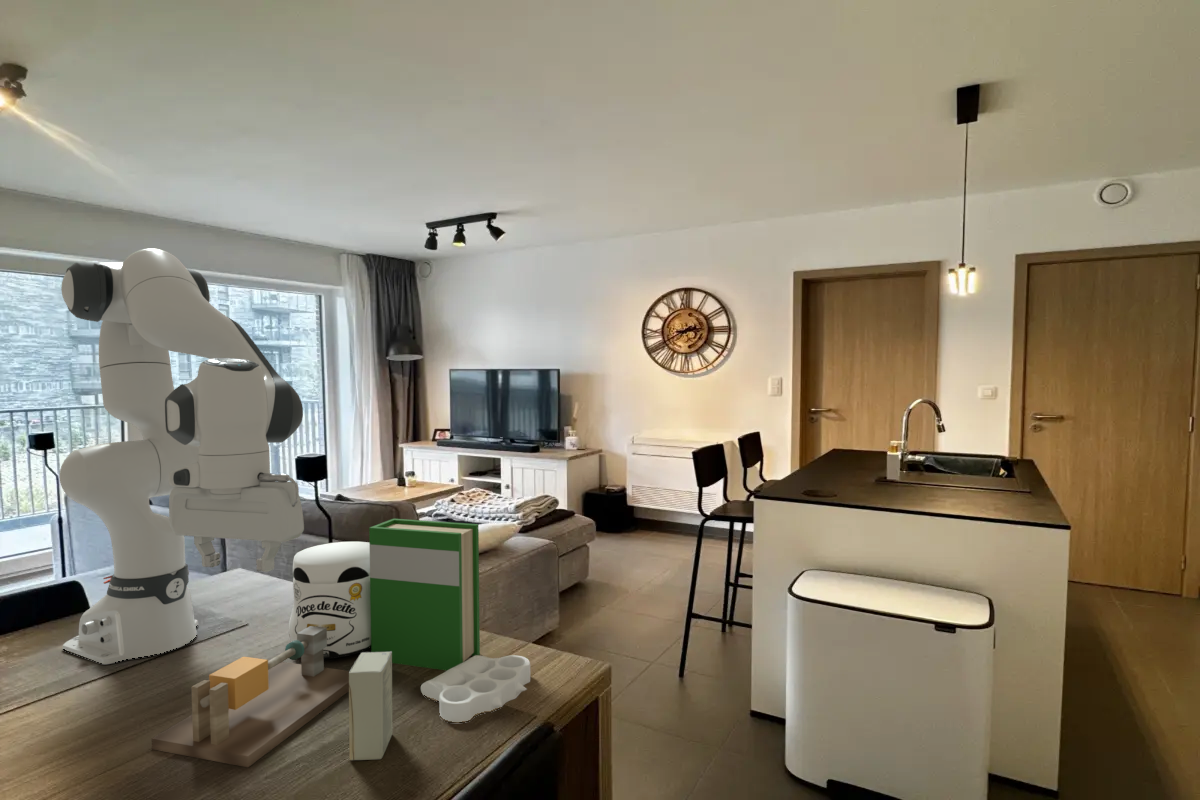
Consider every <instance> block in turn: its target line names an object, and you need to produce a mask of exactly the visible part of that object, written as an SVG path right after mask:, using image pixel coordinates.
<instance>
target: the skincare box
mask: <svg viewBox="0 0 1200 800" xmlns="http://www.w3.org/2000/svg"><path fill="white" fill-rule="evenodd" d="M349 671H350V672H349V692H348V727H349V728H348V737H349V738H348V739H349V741H348V743H349V745H348V749H349V753H348V754H349V761H367V760H369V761H370V760H381V759H382V758H383V757H384V754H385V752H386V750H387V748H388V746H389V743H390V740H391V739H392V735H393V663H392V651H390V652H371V651H363V652H360V654H359V655H358V657H357V658H356V660H355V661H354V663H353V665H352V666H351V668H350V670H349Z"/></svg>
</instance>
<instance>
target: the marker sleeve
mask: <svg viewBox="0 0 1200 800" xmlns="http://www.w3.org/2000/svg"><path fill="white" fill-rule="evenodd" d="M268 661H269V659H265V658H257V657H251V656H250V657H249V656H241V657H240V658H238V659H236V660H234V661H232V662H231V663H229V664H227V665H225V666H223V667H221V668H219V669H218V670H215V671H214V672H211V673H210V674H208V680H209V681H210V689H211V688H213V687H215V686H216V685H218V684H220V683H228V709H233V710H236V709H238V708H239V707H241V706H243V705H244V704H246V703H247V702H249V701H250V700H252V699H254V698H255V697H257V696H258V695H260V694H262V693H263V692H265V691H266V690H268V689H269V686H268Z"/></svg>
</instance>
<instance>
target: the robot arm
mask: <svg viewBox="0 0 1200 800" xmlns="http://www.w3.org/2000/svg"><path fill="white" fill-rule="evenodd" d="M61 295H62V298H63V300H64V303H65V304H66V306H67V309H68V312H70V313H71V314H72V315H73V316H74V317H75V318H78V319H80V320H84V321H85V320H86V321H90V322H96V323H99V322H100V321H101V326H100V330H99V337H98V338H99V339H98V366H99V375H100V376H99V377H100V384H101V394H102V395H101V396H102V404H103V407H104V410H106V412H107V413H108V414H109V415H111V416H112V417H113V418H115V419H117V420H119V421H122V422H124V423H128V424H131V425H133V427H135V428H136V429H137V430H138V431H139V432H140V433H141V436H142V438H143V439H142V440H141V439H140V440H139V439H138V440H127V441H126V440H125V441H116V442H115V441H113V442H102V443H99V444H93V445H90V446H86V447H83V448H78V449H75V450H73V451H71V452H70V453H69V454H68V455H67V456H66V458H65V459H64V460H63V462H62V464H61V467H60V470H59V483H60V487H61V489H62V491H63V493H65V495H66V496H67V497H68V498H69V499H71V500H72V501H74V502H76V503H77V504H79V505H81V506H83V507H86V508H88V509H89V510H90V511H91V512H93V513H94V514H96V515H97V516H98V518H99V519H100V520H101V521H102V522H103V524H104V525H105V527H106V529H107V530H108V533H109V537H110V540H111V547H112V548H111V549H112V555H113V556H112V557H113V559H112V560H113V570H114V571H113V572H114V573H113V574H111V575H107V576H106V577H103V580H105V581H104V582H103V583H102V584H108V586H107V590H106V594H105V595H104V596H103V597H102V598H101V599H100V600H98V601H97V602H95V604H93V605H92V606H91V607H90V608H89V609H87V610H85V612H83V614H82V615H81V617H80V619H79V623H78V624H79V625H78V635H76V636H74V637H72V638H71V639H69V640H67V641H65V642H64V643H63V644H62V649H65V650H67V651H71V652H74V653H76V654H79V655H81V656H84V657H87V658H89V659H92V660H94V661H96V662H95V663H97V662H99V663H98V664H100V663H102V664H101V665H110V664H115V662H116V663H119V662H118V661H120V662H122V660H124V661H127V660H126V659H128V660H133V659H132V658H135V659H139V658H138V657H142V658H145V657H144V656H148V657H151V656H150V655H153V656H155V655H154V654H157V655H160V653H161V654H164V652H165V653H167V652H166V651H168V652H171V651H174V650H177V649H179V648H182V647H184V646H185V644H186V645H187V644H190V643H191V642H192V641H193V639H194V638H195V637H196V638H197V636H198V631H197V628H196V626H197V625H198V626H199V620H198V619H196V618H195V614H194V608H193V601H192V595H191V594H192V593H191V589H190V588H189V587H188V584H189V581H190V580H189V579H190V578H189V575H190V571H189V567H188V564H187V563H186V549H185V548H186V547H185V545H186V544H185V543H186V542H185V541H186V540H185V539H186V538H185V536H186V537H193V544H194V546H195V548H196V549H197V551H198V553H199V555H200V556H201V565H202V567H203V568H215V567H218V566H220V564H221V559H220V558H221V553H220V552H216V550H215V547H214V545H213V541H214V540H215V539H229V540H230V539H231V540H244V541H245V540H246V541H259V542H261V548H262V549H264V552H263V554H262V556H261V557H260V558H257V559H256V560H255V561H256V563H255V564H256V571H258V572H264V573H268V572H270V571H274V569H275V557H276V556H277V554H278V552H279V550H280V548H281V546H282V543H286V542H289V541H293V540H296V539H297V538H299V537H301V535H302V534H303V532H304V531H305V524H304V523H305V522H304V515H303V514H304V513H303V508H302V502H301V497H300V492H299V489H300V488H299V484H298V482H297V481H296V480H295V479H293V478H292V477H291V476H290V475H289V474H287V473H286V474H285V473H279V474H277V473H276V474H275V473H271V465H270V463H271V462H270V461H271V460H270V457H271V456H270V454H271V453H270V445H269V443H270V444H272V443H274V444H275V443H276V444H277V443H278V444H279V443H281V444H282V443H283V442H285V441H286V440H287V439H288V438H290V437H292V435H293V434H294V433H295V432H296V431H297V429H298V428H299V427H300V425H301V424H302V421H303V418H304V417H303V416H304V409H303V404H302V403H303V402H302V400H301V397H300V396H299V393H297V391H296V390H295V389H294V387H293V386H292V385H291V384H290V383H288V381H286V380H285V379H284V378H283V377H282V376H280V374H279V373H278V372H277V371H276V369H274V367H273V366H272V364H271V362H270V361H269V360H268V359H267V357H266V356H265V355H264V353H262V351H261V350H260V349H259V347H258V346H257V344H256V343H255V342H254V340H253V339H252V337H250V335H249V334H248V333H247V332H246V330H245V329H244V328H243V327H242V326H241V325H240V324H239V322H237V321H235V320H233V319H232V318H230V317H228V316H226V315H225V314H224V313H222V312H221V311H219V310H218V309H217V308H216V307H214V305H213V304H211V303H210V301H211V297H210V296H211V295H210V290H209V286H208V282H207V280H206V279H205V277H204V276H203V275H202V274H201V273H200V272H198V271H196V270H194V269H191V268H190V269H189V268H186V266H185V265H184V264H183V262H181V260H180V259H179V258H178V257H176V256H175V255H174V254H172V253H171V252H168V251H166V250H162V249H159V248H143V249H139V250H137V251H134V252H132V253H131V254H129V255H128V256H126V258H125V259H124V260H123V262H122V261H121V262H119V261H118V262H114V261H113V262H111V261H110V262H105V261H104V262H99V261H97V260H85V261H77V262H75V263H72V265H70V266H69V267H67V269H66V271H65V274H64V276H63V279H62V281H61ZM170 352H173V353H179V354H180V353H181V354H186V355H191V356H197V357H202V358H205V359H206V360H203V361H202V362H201V363H200V364H199V365H198V370H197V376H196V377H195V378H193V380H191V381H188V382H187V383H185V384H180V385H178V386H177V387H174V381H173V373H172V372H173V371H172V365H171V359H170ZM163 496H169V499H168V500H169V501H168V503H169V504H168V516H167V515H164V514H161V513H157V512H153V510H152V508H151V505H150V499H152V498H157V497H163ZM107 579H108V580H107ZM198 626H197V627H198ZM196 635H197V636H196ZM196 638H195V639H196ZM195 639H194V640H195ZM191 640H192V641H191ZM190 641H191V642H190ZM176 648H177V649H176ZM173 649H174V650H173ZM170 650H171V651H170ZM89 659H88V660H89ZM92 660H91V661H92ZM94 661H93V662H94Z"/></svg>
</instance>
